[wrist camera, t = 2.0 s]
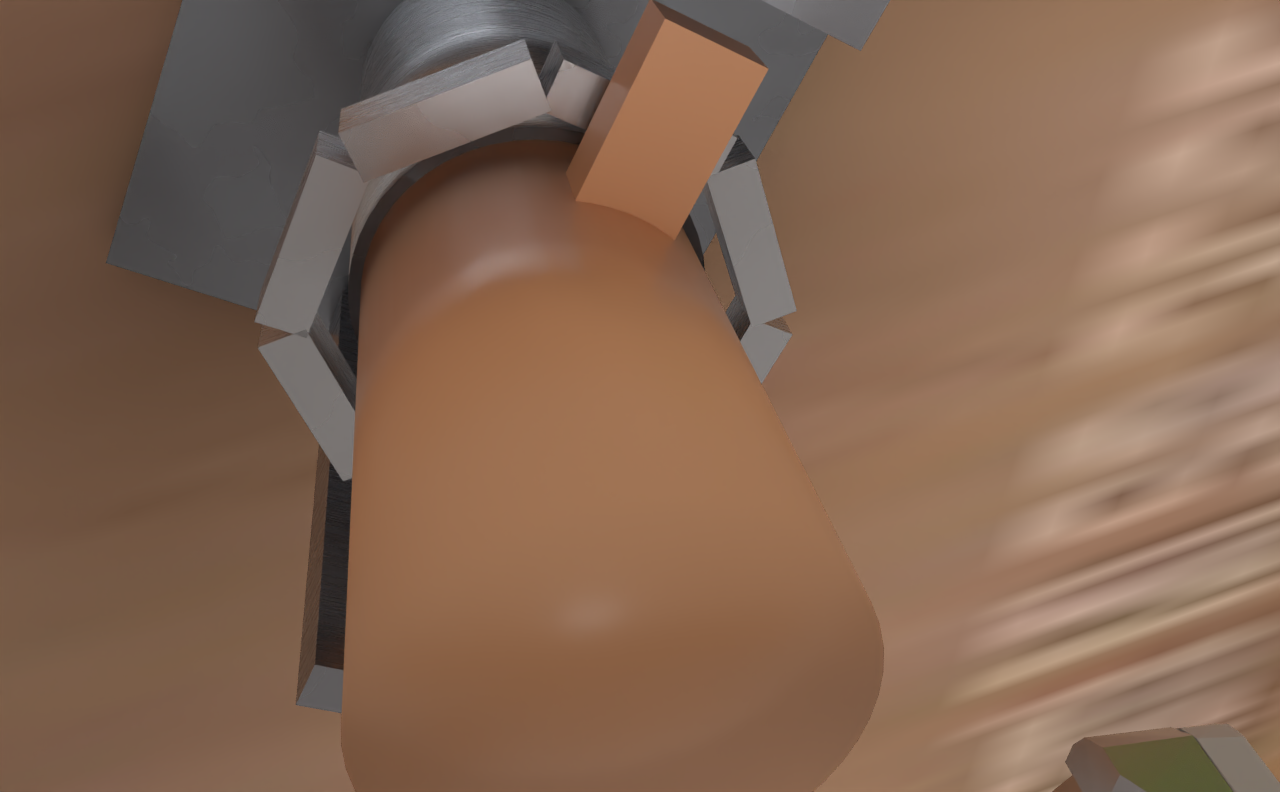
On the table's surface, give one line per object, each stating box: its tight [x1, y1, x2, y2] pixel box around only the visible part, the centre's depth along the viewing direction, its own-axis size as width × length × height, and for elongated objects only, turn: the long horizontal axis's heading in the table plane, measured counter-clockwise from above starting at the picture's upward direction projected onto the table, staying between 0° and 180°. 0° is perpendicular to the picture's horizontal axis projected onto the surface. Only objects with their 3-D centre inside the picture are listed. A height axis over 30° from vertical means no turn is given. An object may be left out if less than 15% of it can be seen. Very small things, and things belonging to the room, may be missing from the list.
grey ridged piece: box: [106, 0, 890, 713], centre depth 22 cm, size 15×14×14 cm
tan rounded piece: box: [341, 0, 884, 792], centre depth 15 cm, size 11×6×9 cm, turn 153°
